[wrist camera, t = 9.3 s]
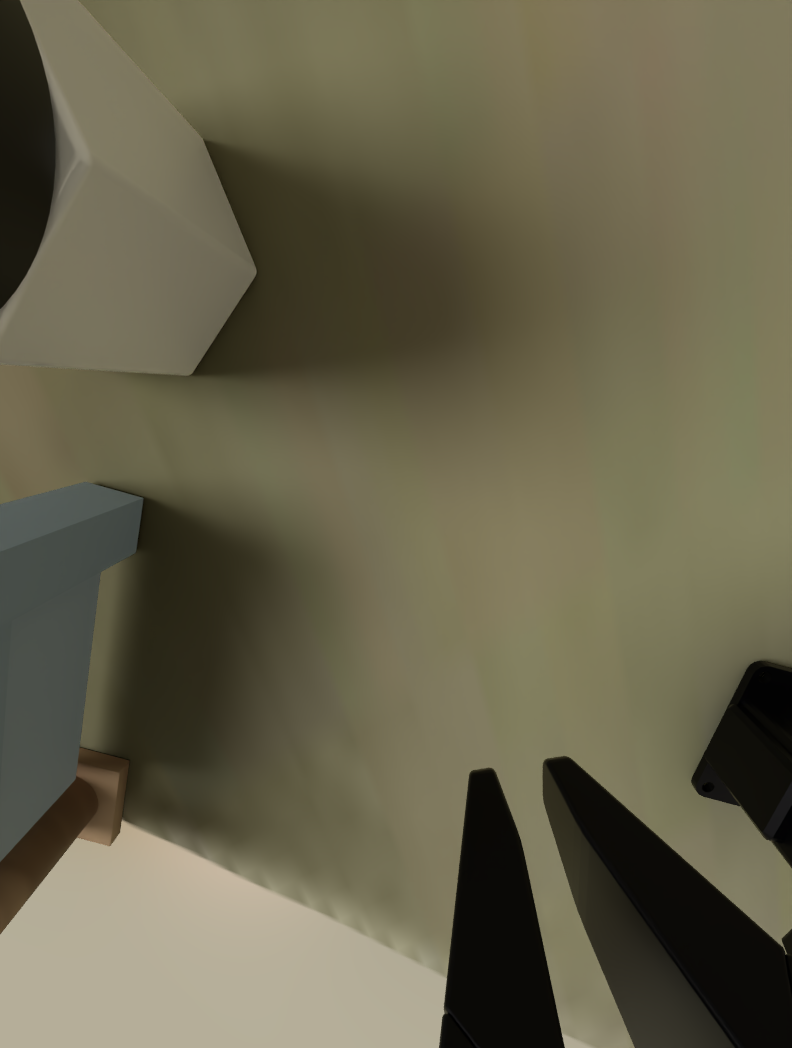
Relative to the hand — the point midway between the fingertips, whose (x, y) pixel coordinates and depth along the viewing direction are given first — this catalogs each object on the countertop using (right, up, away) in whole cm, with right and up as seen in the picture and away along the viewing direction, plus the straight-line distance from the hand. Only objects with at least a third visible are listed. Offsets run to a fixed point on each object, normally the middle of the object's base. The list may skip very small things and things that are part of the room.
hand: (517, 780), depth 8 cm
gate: (-15, 0, +14) cm, 20 cm away
